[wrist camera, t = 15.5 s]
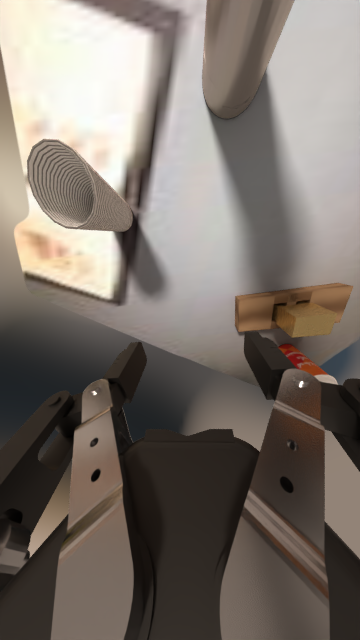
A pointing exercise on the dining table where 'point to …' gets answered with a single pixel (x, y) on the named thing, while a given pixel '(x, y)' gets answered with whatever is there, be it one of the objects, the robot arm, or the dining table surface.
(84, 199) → the cup
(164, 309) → the dining table surface
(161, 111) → the dining table surface
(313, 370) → the paper cup
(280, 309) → the tan boxy piece
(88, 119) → the dining table surface
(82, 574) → the robot arm
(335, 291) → the brown flat wooden block
